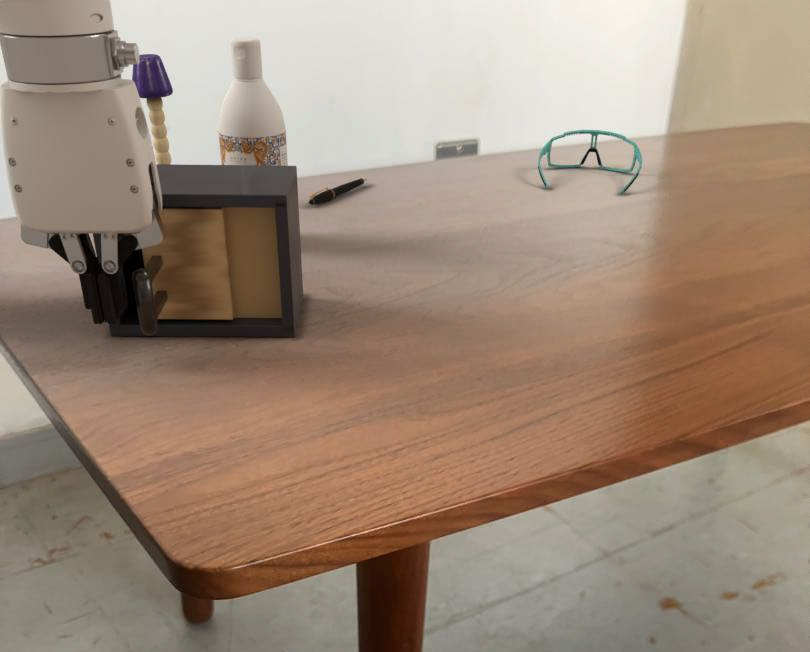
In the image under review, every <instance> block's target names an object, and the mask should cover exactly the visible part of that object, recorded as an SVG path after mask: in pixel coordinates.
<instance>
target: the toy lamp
mask: <svg viewBox="0 0 810 652" xmlns="http://www.w3.org/2000/svg"><path fill="white" fill-rule="evenodd" d="M139 57H140V61H139V65H132V74H131V75H132V76H131V80H133V81H134V83H135V85H136V88H137V91H138V94H139V97H140V99H145V101H146V106H147V108H148V110H149V111H148V118H149V122H150V123H151V126H150V130H151V134H152V137H153V141H152V145H153V149H154V150H155V161H156V164H171V163H172V156H171V153H170V151H169V150H170V142H169V139H168V137H167V136H168V135H167V134H168V129H167V126H166V124H165V121H166V115H165V113H164V110H163V107H164V104H163V103H164V102H163V99H162V98H166V97H169V96H171V95H173V93H174V89H173V86H172V83H171V80H170V78H169V75H168V73H167V70H166V67H165V65H164V62H163V60H162V58H161V56H160V55H159V54H155V53H145V54H139Z"/></svg>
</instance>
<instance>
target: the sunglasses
mask: <svg viewBox="0 0 810 652" xmlns="http://www.w3.org/2000/svg"><path fill="white" fill-rule="evenodd" d="M574 135H591V139H590V140H591V141H590V145H589V146H590V147H589V149H587V151H586V153H585V154H584V155H583V158H581V160H580V162H579V164H555V163H552V161H551V153H552V152H551V151H552V147H553V146H552V145H553V142H554V141H556V140H559V139H563V138H566V136H567V137H569V136H574ZM599 135H601V136H602V135H603V136H608V137H613V138H616V139H620V140H622V141H624V142H626V143H628V144H630V145H631V146H633V158H632V163H631V166H630V168H625V169H624V168H614V167H607V166H603V163H602V159H601V157H600V154H599V150H598V148H597V144H598V143H597V141H598V136H599ZM590 153H595V156H596V161H597V165H598V167H600V169H602V170H606V171H611V172H612V171H613V172H619V173H631V172H633V171H634V169H635V166H636V162H638V168H637V169H636V172H635V173H634V175H633V176H632V178H630V180H629V182H628V183H627V184H626V185H625V186H624V187H623V188H622V189H621V191H620V194H621V195H623V194H625V193H626V192H627V190H629V188H630V187H631V186H632V185H633V183H634V182H635V180H637V178H638V176H639V175H640V172H641V169H642V165H643V155H642V153H641V150H640V148H639V147H638V145H637V143H636V142H635V141H632V140H631V139H628V138H627V137H626V136H625V135H622V134H621V133H616V132H613V131H607V130H601V129H579V130H578V129H577V130H570V131H565V132H563V133H562V134H559V135H556V136H554V137H553V136H552V137H551V138H550V139H549V141H548V142H547V141H546V143H545V144H544V146H543V147H542V148H541V150H540V152H539V156H538V160H537V169H538V173H539V176H540V179H541V181H542V183H543V186H544V187H545V189H549V184H548V181H547V179H546V178H545V175H544V172H543V168H542V165H541V160H542V157H543V156H546V161H547V165H548V167H549V168H559V169H560V168H561V169H562V168H563V169H564V168H565V169H569V168H571V169H572V168H574V169H575V168H580V167H582V166H583V165H584V164H585V162H586V160H587V158H588V156H589V154H590Z"/></svg>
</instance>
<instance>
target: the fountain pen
mask: <svg viewBox="0 0 810 652" xmlns="http://www.w3.org/2000/svg"><path fill="white" fill-rule="evenodd" d="M367 180H368V178H367V177H366V178H361V177H360V178H359V179H355V180H352V181H349V182H346V183H343V184H340V185H337V186H335V187H333V188H329V187H324V188H322V189H320V190H318V191H316V192H314V193H312V194H311V195H310V196H309V201H308V204H309V205H311V206H314V205H321V204H323V203H326V202H329V201H331V200H333V199H335V198H337V197H339V196H342V195H344V194H346V193H348V192H351V191H352V190H354V189H357V188H358V187H360V186H362V185H364V184H365V182H367Z"/></svg>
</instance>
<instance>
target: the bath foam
mask: <svg viewBox="0 0 810 652" xmlns="http://www.w3.org/2000/svg"><path fill="white" fill-rule="evenodd" d="M230 52H231V53H230V55H231V66H232V75H233V80H232V81H231V84H230V86H229V87H228V90H227V92H226V94H225V96H224V99H223V100H222V103H221V106H220V110H219V115H218V127H217V128H218V131H217V132H218V142H219V153H220V154H219V155H220V163H221V164H220V165H270V166H289V164H288V162H289V161H288V145H287V130H286V123H285V119H284V115H283V112H282V110H281V109H282V108H281V107H280V104H279V103H278V101H277V98H276V97H275V96H274V94H273V93H272V91H271V90H270V88H269V87H268V85H267V83H266V81H264V78H263V62H262V47H261V40H260V38H259V37H258V38H257V37H250V36H249V37H248V36H246V37H245V36H244V37H232V38H230Z"/></svg>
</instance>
